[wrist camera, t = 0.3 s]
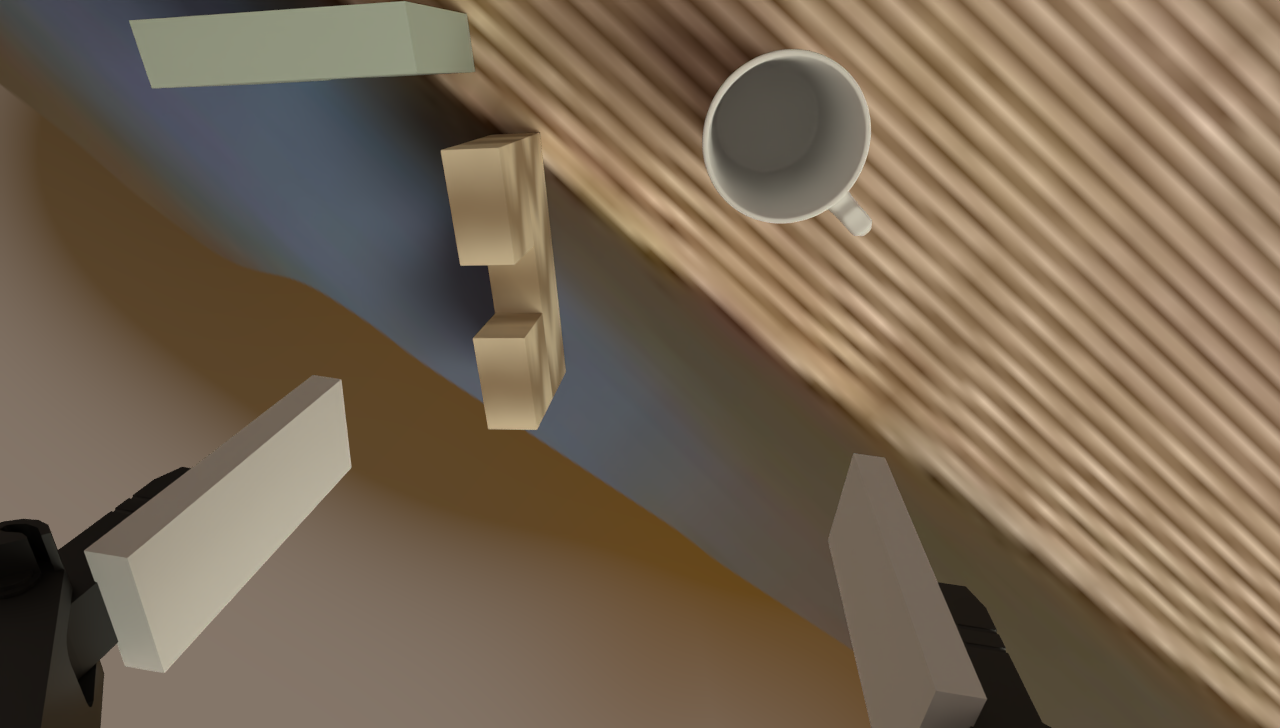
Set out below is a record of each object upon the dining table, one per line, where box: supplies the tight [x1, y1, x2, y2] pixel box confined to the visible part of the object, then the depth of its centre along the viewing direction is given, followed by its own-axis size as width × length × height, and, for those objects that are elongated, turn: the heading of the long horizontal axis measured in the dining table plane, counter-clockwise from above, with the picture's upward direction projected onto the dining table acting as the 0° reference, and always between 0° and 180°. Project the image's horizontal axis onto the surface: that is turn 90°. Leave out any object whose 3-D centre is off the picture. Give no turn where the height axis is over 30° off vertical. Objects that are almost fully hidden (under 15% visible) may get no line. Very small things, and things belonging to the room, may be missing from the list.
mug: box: [702, 49, 872, 236], centre depth 32 cm, size 10×7×12 cm, turn 45°
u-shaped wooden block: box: [441, 133, 566, 430], centre depth 38 cm, size 16×3×8 cm, turn 3°
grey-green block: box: [129, 1, 475, 88], centre depth 34 cm, size 3×14×8 cm, turn 93°
